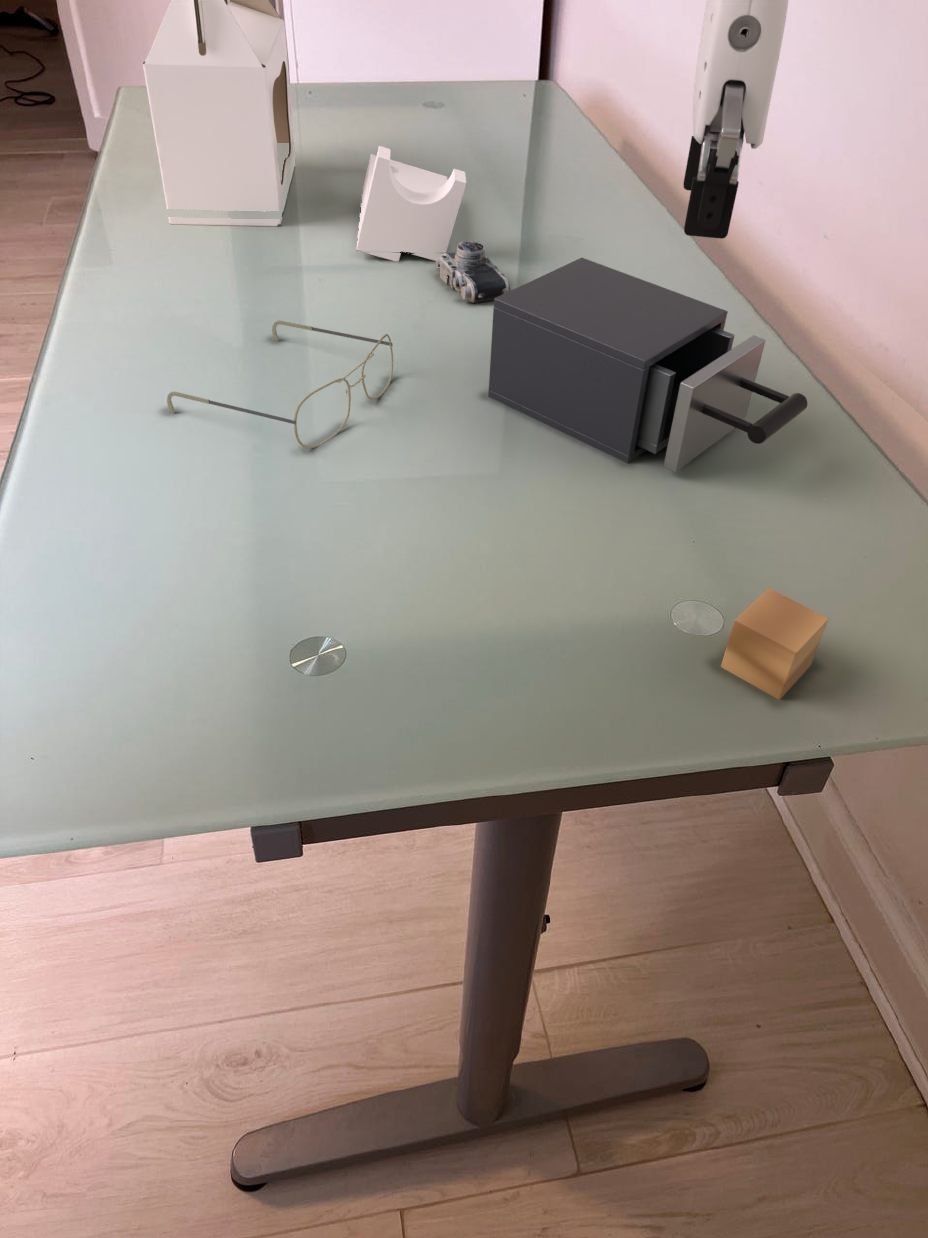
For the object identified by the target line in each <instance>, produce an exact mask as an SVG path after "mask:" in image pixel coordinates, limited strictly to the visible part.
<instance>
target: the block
mask: <svg viewBox="0 0 928 1238" xmlns="http://www.w3.org/2000/svg"><path fill="white" fill-rule="evenodd" d="M829 620H830V619H829V617H827V616H825V615H824V614H821V613H820V612H818V611H815V610H813V609H811V608H810V607H807V606H806V605H803V604H802V603H799V602H797V601H796V600H794V599H792V598H790V597H788V596H786V595H784V594H782V593H780V592H779V591H776V590H774V589H772V588H770V587H767V588H766V589H765V590H764V591H762V593H761V594H760V595H759V596H758V597H756V599H755V600H754V601H752V603H750V604H749V606H747V607H746V608H745V609H744V610H743V611H742V612H741V613H740V614H739V615H737V617H736V618H735V619H734V621H733V624H732V627H731V631H730V635H729V638H728V641H727V645H726V648H725V651H724V655H723V658H722V661H721V664H720V668H722V669H723V670H725V671H728V672H729V673H731V674H733V675H735V676H736V677H738V678H740V679H741V680H743V681H745V682H747V683H749V684H750V685H752V686H754V687H756V688H757V689H759V690H760V691H763V692H764V693H766V694H768V695H770V696H772V697H773V698H775V699H777V700H779V701H781V699H782V698H783V697H784V696H785V695H786V694H787V692H788V691H789V690H790V689H791V688H792V687H793V686H794V685H795V684H796V682H797V681H798V680H799V679H801V677H802V676H803V675H804V674H805V672H806V671H807V670H809V669H810V667H811V666H812V664H813V661H814V658H815V656H816V654H817V650H818V648H819V646H820V643H821V640H822V637H823V635H824V633H825V630H826V627H827V624H828V622H829Z"/></svg>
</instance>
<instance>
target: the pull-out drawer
mask: <svg viewBox="0 0 928 1238" xmlns="http://www.w3.org/2000/svg"><path fill="white" fill-rule="evenodd" d="M735 336H736V335H735V333H731V332H729V331H726V330H724V331H723V330H721V329H718V328H716V327H713V328H711V329H710V330H708V331H706V332H705V333H703V334H701V335H700V336H698V337H697V338H695V339H693V340H692V341H690V342H688V343H687V344H685V345H684V346H682V347H680V348H679V349H677V350H675V351H674V352H672V353H670V354H669V355H667V356H666V357H664V358H662V359H661V360H659V361H657V362H656V363H654V364H653V365H651V366H649V372H648V377H647V383H646V388H645V394H644V400H643V405H642V411H641V416H640V422H639V428H638V433H637V439H636V444H635V445H637V446H639V447H641V448H643V449H645V450H646V451H648V452H650V453H651V454H654V455H657V453H659V452H660V451H661V450H663V449H665V448H666V451H665V456H664V461H663V468H666V469H667V470H669V471H671V472H674V473H676V472H678V471H679V470H681V469H682V468H683V467H684V466H686V465H687V464H688V463H690V462H692V460H694V459H695V458H698V456H700V455H701V454H702V453H703V452H705V451H706V450H707V449H709V448H710V447H712V446H713V445H714V444H715V443H717V442H718V441H720V440H721V439H722V438H724V437H725V436H726V435H728V434H729V433H730V432H732V431H733V430H734V429H738V430H740V431H743V432H745V433H746V434H747V437H748V439H749V441H751V443H753V444H756V445H758V444H759V445H760V444H763V443H764V442H765V441H767V440H768V439H769V438H771V437H772V436H773V435H775V434H776V433H778V431H780V430H781V429H782V428H784V427H785V426H786V425H787V424H789V423H790V422H791V421H792V420H794V419H795V418H796V417H797V416H799V415H800V414H801V413H803V412H804V411H805V410H806V409H807V407H808V399H807V397H806V396H805V395H804V394H802V393H799V392H795V393H792V394H791V395H790V396H789V395H787V394H784V393H782V392H779V391H778V390H777V391H776V390H774V389H773V388H770V387H767V386H764V385H763V384H760V383H758V382H756V379H757V376H758V372H759V367H760V364H761V360H762V356H763V353H764V349H765V345H766V341H767V340H766V338H763V337H760V336H757V335H753V334H752V336H750V337H748V338H747V339H745V340H744V341H742V342H741V343H739V344H737V345H736V346H734V347H733V345H734V344H733V343H734V339H735ZM753 393H754V394H756V395H759V396H761V397H764V398H766V399H768V400H771V401H774V402H776V403H778V405H776V406H775V407H774V408H772V409H771V410H770V411H768V412H767V413H766V414H764V415H763V416H762V417H760V418H759V419H757V421H755V422H753V423H752V422H749V421H747V420H746V417H747V414H748V410H749V406H750V403H751V399H752V394H753Z"/></svg>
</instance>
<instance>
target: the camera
mask: <svg viewBox="0 0 928 1238" xmlns="http://www.w3.org/2000/svg"><path fill="white" fill-rule="evenodd" d="M434 264H435V268H436V269H438V270H439V277H440V279H441V280H442V281H443V282H444V283H445V284H446V285H449V286H450V289H453V290H455V291H457V292H458V293H460V295H461V298H462V300H465V301H466V300H468V301H469V302H470V303H474V304H475V303H482V302H489V301H494V298H496V297H498V296H500V295H503V294H505V293H507V292H509V291H511V287H510V282H509V280H508V277H506V276H505V274H504V273H502V272H501V271H500V270H499V269H498V266H497V265H495V264H494V263H493V262H492V261H491V259H489V256H488V254H487V252H486V248H485V246H484V245H483V244H482V243H478V242H475V241H473V240H471V241H470V240H466V241H461V242H459V243H457V246H456V251H452V252H446V253H444V254H442V256H441V257H440V258H439V260H438V261H435V263H434ZM436 266H437V267H440V268H437V267H436ZM444 274H445V275H446V276H447V277H448V278H447V277H446V276H445V275H444Z"/></svg>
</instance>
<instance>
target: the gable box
mask: <svg viewBox="0 0 928 1238" xmlns="http://www.w3.org/2000/svg"><path fill="white" fill-rule="evenodd" d="M287 47H288V46H287V34H286V23H285V20H284V19H282V17H281V15H279V13H278V11H277V9H276V8H275V7H274V5H273V4H272V2H271V1H270V0H170V2H169V4H168V7H167V9H166V11H165V14H164V16H163V19H162V21H161V23H160V26H159V28H158V31H157V33H156V35H155V37H154V40H153V42H152V45H151V47H150V49H149V52H148V54H147V56H146V58H145V59H144V61H143V63H142V68H143V74H144V80H145V81H144V82H145V85H146V93H147V98H148V103H149V110H150V115H151V122H152V127H153V134H154V140H155V146H156V152H157V158H158V164H159V171H160V177H161V183H162V188H163V194H164V199H165V205H166V206H165V207H166V210H167V209H175V210H176V209H184V210H186V209H187V210H189V209H191V210H193V209H195V210H214V211H217V210H219V211H221V210H222V211H236V210H237V211H261V212H262V211H263V212H266V211H269V212H270V211H279V209H280V206H281V200H282V196H283V191H284V186H285V182H286V177H287V174H288V170H289V165H290V160H291V155H292V150H293V145H294V146H295V138H294V124H293V113H292V112H293V111H292V99H291V97H292V96H291V86H290V74H289V61H288V48H287ZM277 143H289V154H288V157H287V158H285V160H284V164H283V170H282V180H281V181H280V171H279V158H278V148H277ZM167 218H168V223H169V224H170V225H179V226H180V225H184V226H228V227H229V226H231V227H232V226H233V227H234V226H236V227H277V228H278V227H280V226H281V225H282V222H283V218H284V216H283V217H281V218H280V219H231V218H182V217H168V216H167Z"/></svg>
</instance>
